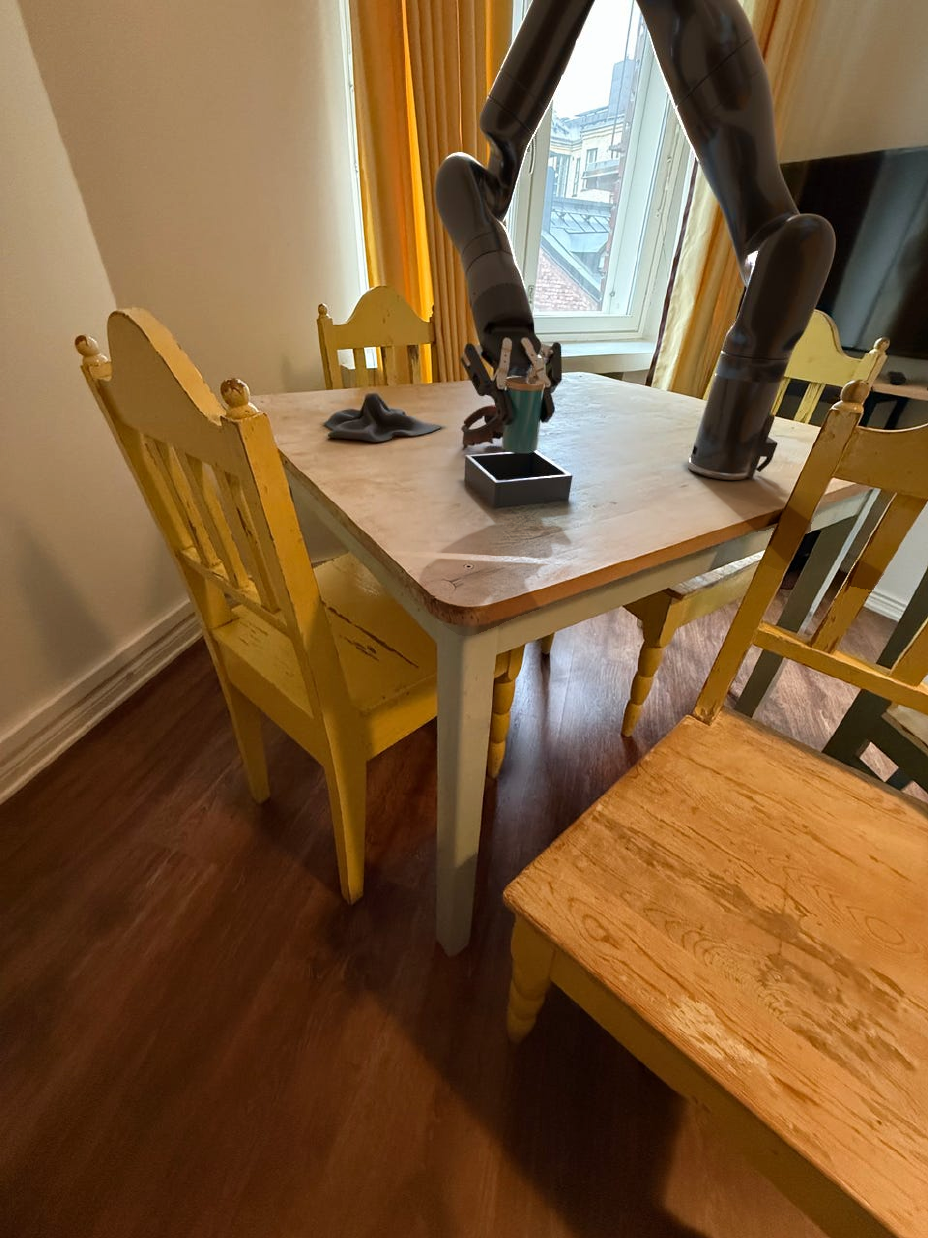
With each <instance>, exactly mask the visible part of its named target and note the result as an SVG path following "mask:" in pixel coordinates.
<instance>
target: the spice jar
mask: <svg viewBox="0 0 928 1238" xmlns="http://www.w3.org/2000/svg"><path fill="white" fill-rule="evenodd" d="M545 383H546V382H545V381H544V380H542V379H538V378H532V377H521V376H520V377H519V376H510V377H507V380H506V387H505V390H508V392H509V395H510V399H511V403H512V407H513V411H514V419H513V421H512V422H511V424H510V425H504V424H503V437H502V438H501V439H502V440H501V449H502V450H504V451H505V452H512V453H519V454H526V453H532V452H535V451H538V446H539V436H540V429H541V411H542V402H543V393H544V388H545Z"/></svg>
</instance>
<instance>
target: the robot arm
mask: <svg viewBox="0 0 928 1238" xmlns="http://www.w3.org/2000/svg"><path fill="white" fill-rule="evenodd" d="M595 1H596V0H531V2H530V3H529V6H528V8H527V11H526V12H525V15H524V17H523V20H522V21H521V23H520V26H519V28H518V30H517V32H516V34H515V37H514V39H513V41H512V43H511V45H510V47H509V49H508V51H507V54H506V55H505V58H504V60H503V63H502V64H501V66H500V69H499V71H498V73H497V75H496V77H495V80H494V82H493V84H492V86H491V87H490V91H489V93H488V95H487V97H486V99H485V102H484V104H483V106H482V108H481V111H480V114H479V117H478V127H479V130H480V132H481V134H482V135H483V137H484V139H485V140H486V142H487V144H488V146H489V156H488V163H487V166H486V167H485V166H483V165H482V164H481V163H480V162H479V161H478V160H476V159H475V158H474V157H473V156H471V155H470V154H467V153H465V152H460V151H459V152H454V153H451V154H448V156H447V157H445V158H444V160H442V162H441V163H440V165H439V167H438V169H437V172H436V175H435V180H434V186H433V187H434V191H433V193H434V201H435V202H434V203H435V207H436V210H437V214H438V216H439V218H440V221H441V223H442V225H443V227H444V229H445V231H446V233H447V235H448V236H449V239H450V241H451V243H452V244H453V246H454V248H455V249H456V251H457V253H458V256H459V258H460V263H461V267H462V272H463V275H464V280H465V284H466V293H467V299H468V306H469V309H470V311H471V316H472V319H473V323H474V327H475V332H476V336H477V339H478V343H479V345H474V344H473V343H470V342H469V343H467V344H465V347H464V349H463V352H462V355H461V357H460V362H461V364H462V366H463V368H464V370H465V372H466V374H467V376H468V378H469V380H470V382H471V384H472V385H473V387H474V389H475V391H476V393H477V395H478V396H479V397H485V396H488V397H490V398H491V399H492V400H493V403H494V405H495V407H496V411H497V415H498V418H499V420H500V421H503V424H504V425H510V424H511V422H512V421H513V419H514V411H513V407H512V403H511V399H510V395H509V392H508V390H506V380H507V379H508V378H511V377H532V378H538V379H542V380H544V381H545V382H546V383H545V388H544V393H543V402H542V411H541V420H540V423H542V424H545V423H549V421H550V420H551V419H552V418H553V415H554V413H555V411H556V408H555V404H554V399H553V396H552V394H553V393H554V392H555V391H556V389H557V387H558V386H559V385H560V384H561V382H562V381H563V368H562V367H563V365H562V363H563V361H562V359H563V358H562V345H561V343H560V342H557V341H555V342H553V343H552V344H551V345H548V344H543V343H542V342H541V340H540V339H539V337H538V336H537V335H536V332H535V320H534V316H533V313H532V308H531V306H530V302H529V298H528V294H527V290H526V287H525V282H524V279H523V276H522V273H521V270H520V269H519V268H520V267H519V265H518V264H517V261H516V256H515V253H514V249H513V245H512V241H511V238H510V235H509V232H508V231H507V229H506V227H505V226H504V225H503V223H504V221H505V219H506V218H507V216H508V213H509V211H510V208H511V205H512V202H513V199H514V195H515V190H516V187H517V185H518V181H519V177H520V173H521V171H522V167H523V165H524V160H525V156H526V153H527V151H528V150H527V149H528V147H529V145H530V143H531V142H532V139H534V138H533V137H534V136H535V134H536V132H537V130H538V128H539V127H540V125H541V123H542V120H543V118H544V116H545V114H546V113H547V111H548V109H549V107H550V105H551V103H552V100H553V99H554V96H555V94H556V92H557V90H558V88H559V86H560V83H561V81H562V79H563V76H564V74H565V73H566V70H567V67H568V65H569V62H570V60H571V58H572V55H573V53H574V51H575V47H576V46H577V43H578V41H579V38H580V35H581V33H582V31H583V29H584V26H585V23H586V21H587V18H588V16H589V15H590V12H591V11H592V8H593V6H594V3H595ZM635 2H636V4H637V6H638V8H639V10H640V13H641V15H642V18H643V20H644V23H645V26H646V29H647V33H648V36H649V39H650V43H651V45H652V49H653V52H654V55H655V59H656V60H657V64H658V66H659V69H660V72H661V76H662V77H663V81H664V84H665V86H666V89H667V92H668V94H669V97H670V100H671V103H672V105H673V109H675V114H676V115H677V118H678V120H679V123H680V125H681V127H682V129H683V132H684V135H685V137H686V139H687V141H688V144H689V145H690V148H691V150H692V152H693V154H694V156H695V158H696V161H697V163H698V165H699V167H700V169H701V171H702V173H703V175H704V178H705V180H706V181H707V184H708V185H709V187H710V189H711V191H712V193H713V194H714V197H715V199H716V201H717V203H718V205H719V207H720V209H721V212H722V215H723V217H724V220H725V223H726V226H727V230H728V233H729V237H730V240H731V244H732V247H733V251H734V254H735V258H736V262H737V265H738V270H739V274H740V276H741V279H742V282H743V284H744V286H745V287H746V291H745V293H744V297H743V300H742V303H741V306H740V309H739V312H738V315H737V317H736V319H735V321H734V323H733V324H732V326H731V327H730V329H729V330H728V331H727V333H726V335H725V337H724V340H723V343H722V344H723V345H722V347H721V351H720V354H719V358H718V361H717V366H716V368H715V372H714V375H713V378H712V381H711V385H710V389H709V392H708V396H707V400H706V402H705V407H704V410H703V413H702V416H701V420H700V423H699V426H698V430H697V433H696V437H695V440H694V443H693V444H692V445H691V450H690V458H689V459H688V462H687V468H688V469H689V470H690V471H692V472H693V473H696V474H698V475H700V476H704V477H706V478H711V479H716V480H725V481H739V480H745V479H753V478H754V476H755V473H756V471H757V472H758V473H762V471H763V470H764V469H765V468H766V467H768V466H769V465H770V463H771V462H772V460H773V458H774V455H775V452H776V450H777V446H778V442H777V441H775V440H774V439H773V438H771V437H769V435H770V433H771V431H772V428H773V425H774V422H775V419H776V418H775V417H776V416H775V414H773V413H772V410H773V408H774V405H775V401H776V399H777V396H778V394H779V391H780V387H781V385H782V382H783V380H784V377H785V374H786V371H787V369H788V366H789V362H790V360H791V358H792V355H793V352H794V349H795V347H796V345H797V344H798V343H799V341H800V340H801V339H802V337H803V336H804V334H805V332H806V331H807V328H808V326H809V324H810V322H811V319H812V316H813V314H814V312H815V309H816V306H817V305H818V302H819V299H820V297H821V294H822V292H823V290H824V287H825V285H826V282H827V279H828V276H829V273H830V271H831V268H832V265H833V261H834V257H835V252H836V243H837V242H836V241H837V240H836V234H835V231H834V228H833V226H832V224H831V223H830V221H828V220H827V219H826V218H824V217H823V216H822V215H819V214H815V213H801V212H800V211H799V210H798V208H797V206H796V204H795V201H794V200H793V198H792V195H791V192H790V190H789V188H788V186H787V183H786V181H785V179H784V178H785V177H784V176H783V172H782V169H781V165H780V160H779V154H778V144H777V143H778V142H777V128H776V115H775V104H774V96H773V89H772V85H771V80H770V77H769V73H768V70H767V67H766V63H765V61H764V58H763V55H762V51H761V49H760V46H759V43H758V39H757V37H756V35H755V32H754V29H753V27H752V24H751V22H750V20H749V17H748V15H747V13H746V11H745V10H744V8H743V6H742V5H741V3H740V2H739V0H635ZM539 356H540V357H541V358H540V357H539ZM482 360H484V361H485V362H486V364H488V365H489V366H490V367H491V369H492V372H491V373H492V374H491V376H490V374H489V372H488V370H487V368H486V366H485V364H484V363H483V361H482ZM544 368H545V369H544ZM762 457H763V458H765V459H764V461H762V463H760V461H761V458H762ZM759 463H760V464H759ZM758 464H759V465H758Z"/></svg>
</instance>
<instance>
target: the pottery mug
mask: <svg viewBox="0 0 928 1238" xmlns="http://www.w3.org/2000/svg"><path fill="white" fill-rule="evenodd" d="M481 419H483V421H484V424H483V425H481V426H479V427H476V428H472V429H471V427H472V425H474V424H475V423H477V422H478V421H480V420H481ZM460 430H461V431H462V433H463V434H462V445H463V447H464V448H467V447H468V446H471V447H474V446H476V445H482V444H484V443H489V444H491V445H494V439H496V440H500V439H502V438H503V421H500V420H499V418H498V415H497V411H496V407H495V404H489V405H484V406H482V407H480V408H478V409H476V410H474V411H473V412H471V413H470V414H469V415H468V416H467V417H466V418H465V419H464V420H463V425H462V426H461V428H460Z"/></svg>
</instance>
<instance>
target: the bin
mask: <svg viewBox="0 0 928 1238" xmlns="http://www.w3.org/2000/svg"><path fill="white" fill-rule="evenodd" d="M464 459H465V460H464V481H465V482H466V483H467V484H468V485H469V486H470V487H471V488H472V489H473V490H474V492H476V493H477V494H478V495H479V496H480V497H481V498H482V499H483V500H484V501H485V502H486V503H487V504H488V505H489V506H490V507H491V508H492V509H493V510H498V509H506V508H515V507H524V506H533V505H541V504H551V503H560V502H569V500H570V494H571V488H572V483H573V474H571V473H570V472H569V471H567V470H565V469H564V468H562V467H561V466H559V465H558V464H556V463H555V462H554V461H552V460H551V459H550V458H548V457H546V456H544V455H543V454H542V453H540V451H538V450H536V451H535V452H532V453H526V454H519V453H512V452H508V451H505V452H493V453H479V454H466V455H465V457H464Z"/></svg>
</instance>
